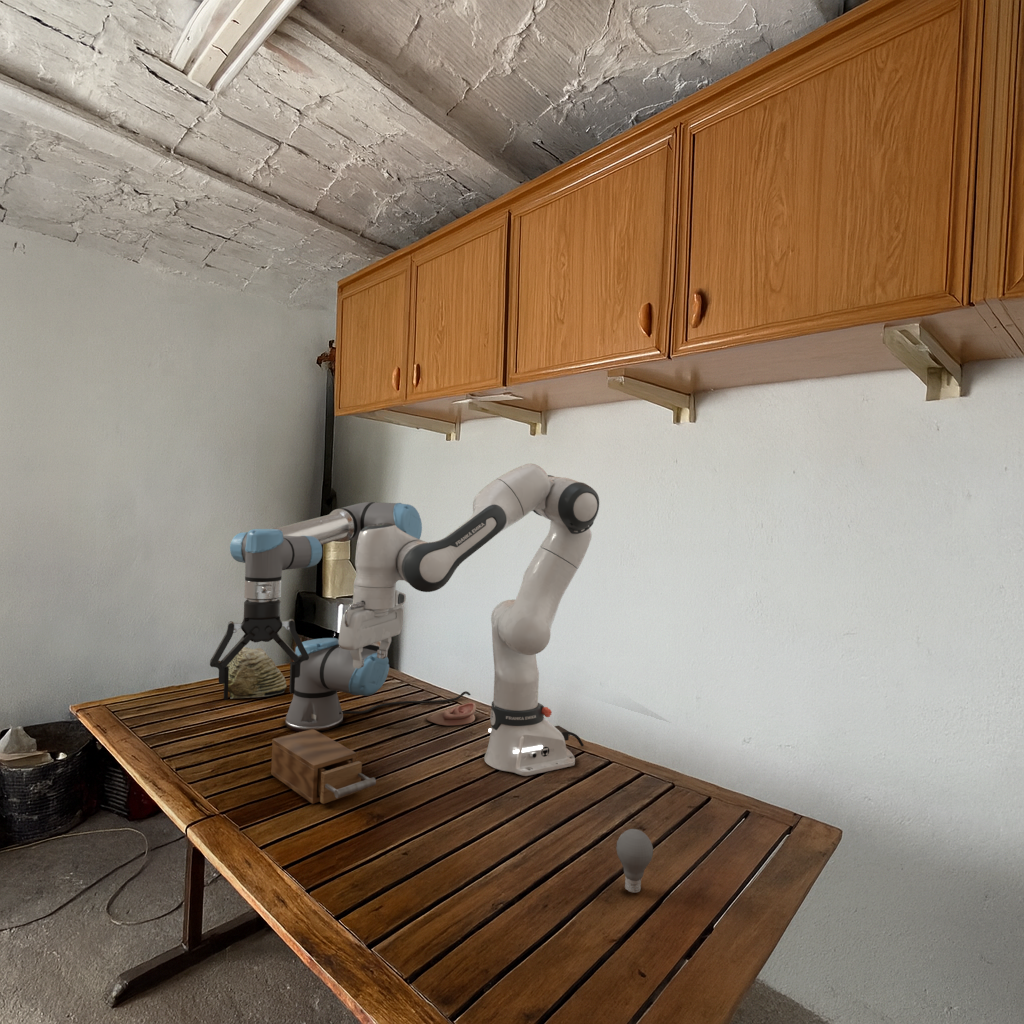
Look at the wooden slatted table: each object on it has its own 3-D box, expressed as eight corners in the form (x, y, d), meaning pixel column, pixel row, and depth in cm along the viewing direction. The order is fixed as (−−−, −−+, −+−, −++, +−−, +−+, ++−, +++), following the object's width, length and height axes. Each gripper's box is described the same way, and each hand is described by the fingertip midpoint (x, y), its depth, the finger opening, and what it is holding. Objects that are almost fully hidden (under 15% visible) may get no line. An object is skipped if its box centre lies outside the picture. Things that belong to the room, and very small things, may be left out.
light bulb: (610, 879, 108) (613, 822, 108) (644, 879, 109) (647, 822, 109) (619, 902, 102) (622, 840, 102) (655, 901, 103) (658, 840, 103)
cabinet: (354, 789, 138) (356, 752, 138) (312, 804, 130) (314, 765, 130) (311, 762, 151) (313, 728, 150) (271, 774, 143) (272, 739, 143)
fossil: (218, 695, 195) (220, 647, 195) (278, 685, 208) (279, 640, 207) (228, 703, 189) (230, 653, 188) (289, 692, 201) (290, 645, 201)
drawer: (375, 800, 131) (376, 770, 131) (337, 814, 125) (338, 783, 125) (319, 764, 147) (320, 738, 147) (282, 775, 141) (283, 748, 141)
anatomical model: (423, 709, 179) (436, 697, 190) (423, 723, 179) (436, 710, 190) (469, 714, 176) (479, 702, 188) (468, 728, 177) (478, 715, 188)
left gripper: (199, 604, 131) (196, 706, 131) (323, 600, 141) (320, 694, 142) (199, 598, 137) (196, 695, 138) (318, 594, 148) (315, 684, 149)
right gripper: (360, 606, 125) (356, 676, 125) (409, 594, 144) (406, 654, 144) (332, 603, 127) (329, 671, 127) (385, 591, 146) (382, 651, 147)
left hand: (259, 695), depth 140 cm, fingers open, 13 cm apart
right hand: (370, 662), depth 136 cm, fingers open, 8 cm apart
